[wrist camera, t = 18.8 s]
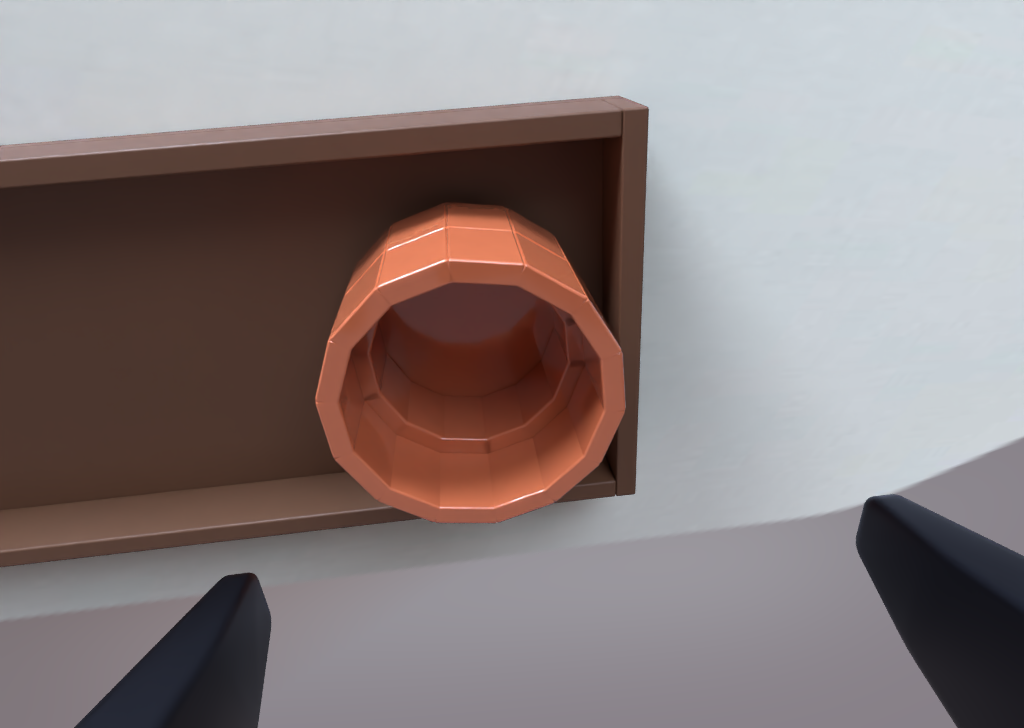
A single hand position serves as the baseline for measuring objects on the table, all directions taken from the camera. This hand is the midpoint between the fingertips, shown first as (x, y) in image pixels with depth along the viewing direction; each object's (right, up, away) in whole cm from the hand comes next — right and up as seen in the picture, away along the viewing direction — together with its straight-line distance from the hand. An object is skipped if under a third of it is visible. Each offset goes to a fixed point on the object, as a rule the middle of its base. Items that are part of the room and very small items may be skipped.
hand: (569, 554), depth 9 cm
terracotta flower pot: (-2, +4, +9) cm, 10 cm away
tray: (-10, +4, +9) cm, 14 cm away
